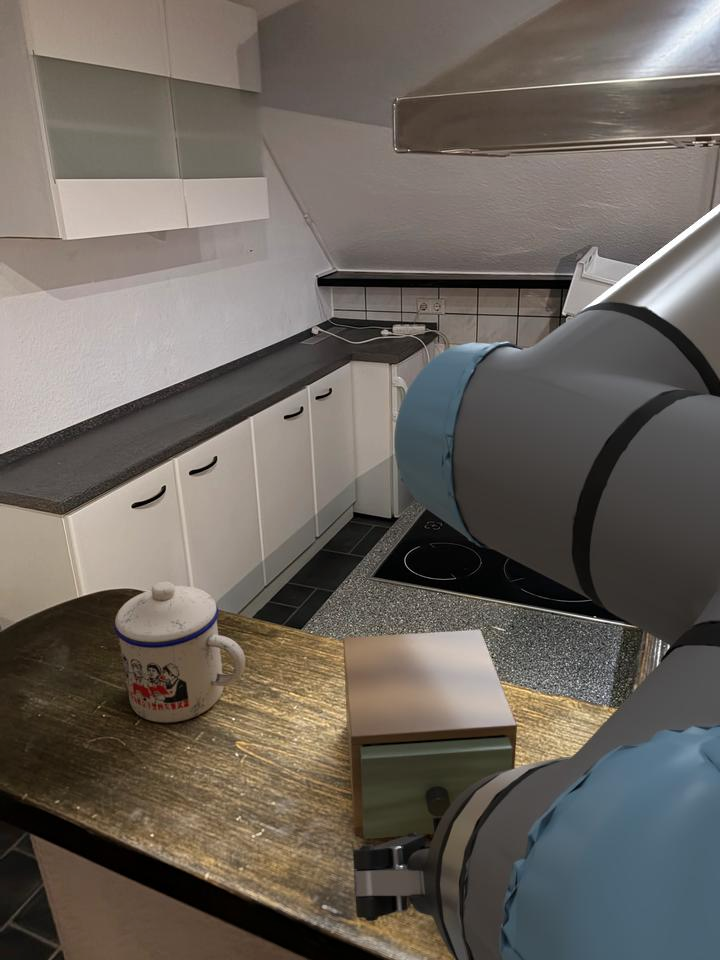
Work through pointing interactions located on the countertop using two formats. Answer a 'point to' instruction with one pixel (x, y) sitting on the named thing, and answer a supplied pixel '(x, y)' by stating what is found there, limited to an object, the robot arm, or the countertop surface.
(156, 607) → the teacup with lid
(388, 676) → the cabinet
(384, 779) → the drawer
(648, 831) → the robot arm
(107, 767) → the countertop surface
